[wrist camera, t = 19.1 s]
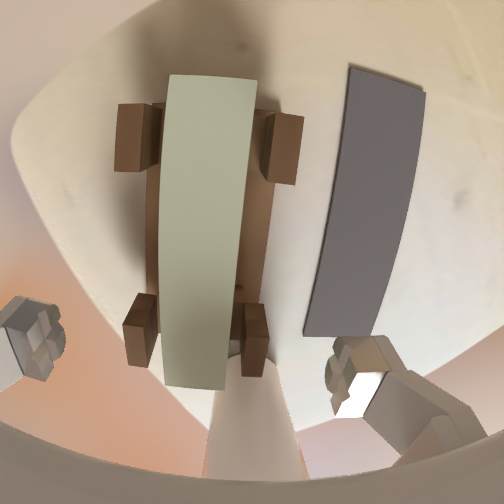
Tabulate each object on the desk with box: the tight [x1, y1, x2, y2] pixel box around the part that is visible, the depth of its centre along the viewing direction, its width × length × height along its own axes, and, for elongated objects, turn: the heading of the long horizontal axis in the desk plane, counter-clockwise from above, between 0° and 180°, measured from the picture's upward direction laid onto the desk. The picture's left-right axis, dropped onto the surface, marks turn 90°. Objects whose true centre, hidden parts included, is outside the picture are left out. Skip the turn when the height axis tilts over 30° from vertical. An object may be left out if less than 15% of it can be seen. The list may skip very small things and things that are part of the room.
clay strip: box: [158, 75, 258, 391], centre depth 15 cm, size 16×4×4 cm, turn 173°
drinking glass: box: [202, 354, 309, 481], centre depth 18 cm, size 7×7×15 cm
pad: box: [303, 68, 426, 337], centre depth 20 cm, size 6×20×1 cm, turn 173°
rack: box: [114, 103, 304, 377], centre depth 17 cm, size 8×15×6 cm, turn 173°
